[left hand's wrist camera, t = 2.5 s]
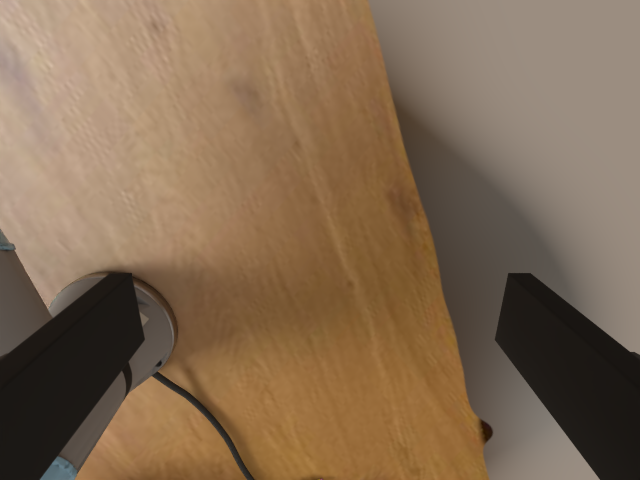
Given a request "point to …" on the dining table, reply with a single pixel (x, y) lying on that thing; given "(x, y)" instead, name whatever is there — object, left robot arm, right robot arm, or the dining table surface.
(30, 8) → the dining table surface
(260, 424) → the dining table surface
